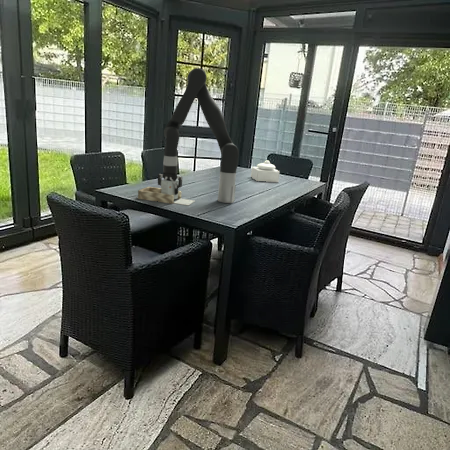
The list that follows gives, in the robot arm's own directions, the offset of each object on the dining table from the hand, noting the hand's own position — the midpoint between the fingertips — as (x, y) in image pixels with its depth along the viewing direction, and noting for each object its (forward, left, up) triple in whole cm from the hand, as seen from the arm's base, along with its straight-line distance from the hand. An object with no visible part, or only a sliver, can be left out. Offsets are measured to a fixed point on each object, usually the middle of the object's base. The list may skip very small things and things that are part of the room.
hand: (169, 193), depth 205 cm
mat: (-9, 0, -4) cm, 10 cm away
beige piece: (+6, 0, -4) cm, 7 cm away
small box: (0, 0, -3) cm, 3 cm away
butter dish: (-38, -103, -4) cm, 110 cm away
